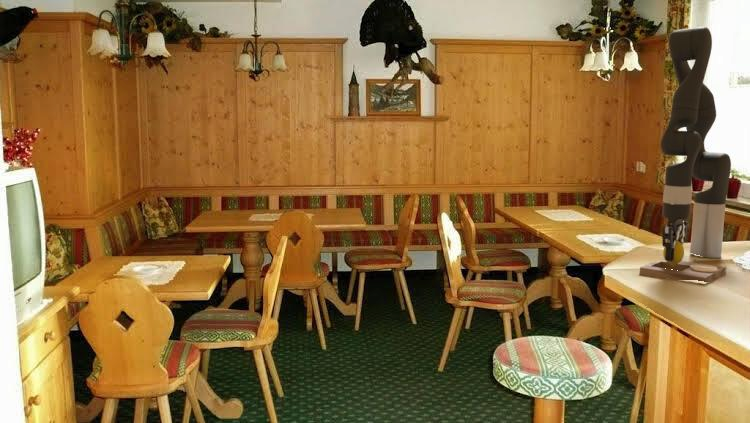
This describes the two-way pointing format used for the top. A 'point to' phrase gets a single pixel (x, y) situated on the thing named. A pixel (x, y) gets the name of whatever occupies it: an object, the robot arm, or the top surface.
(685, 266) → the pocket board
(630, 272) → the top surface
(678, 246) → the lemon
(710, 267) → the saucer
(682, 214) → the robot arm
